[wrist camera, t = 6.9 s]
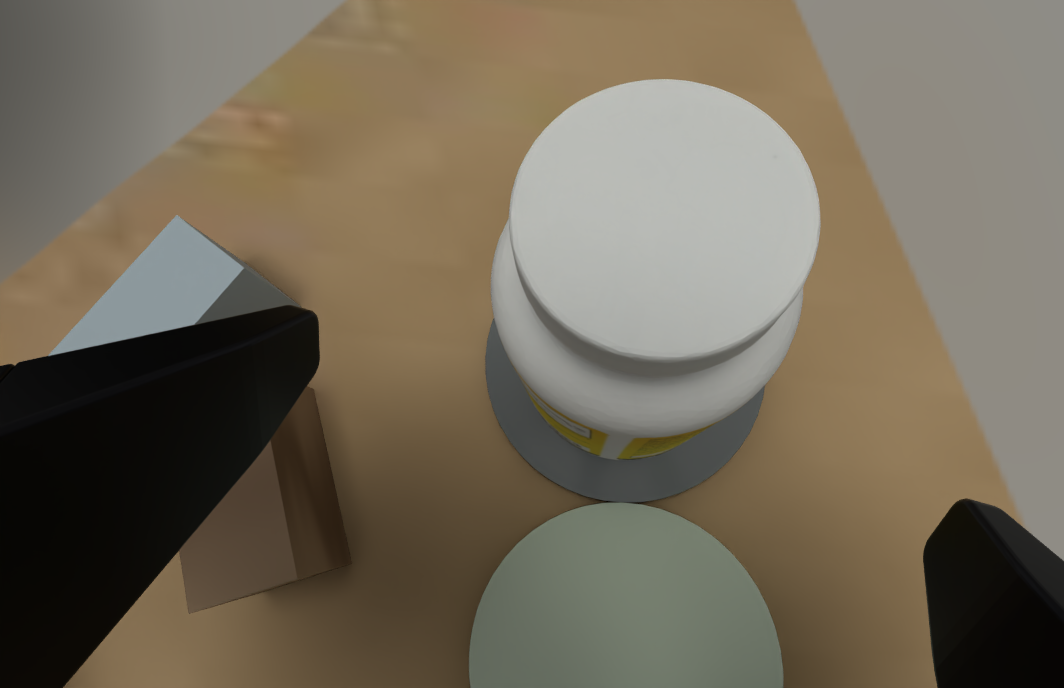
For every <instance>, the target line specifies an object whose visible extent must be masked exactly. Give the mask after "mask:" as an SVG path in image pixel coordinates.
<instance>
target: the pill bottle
mask: <svg viewBox="0 0 1064 688" xmlns="http://www.w3.org/2000/svg"><path fill="white" fill-rule="evenodd" d="M819 235H820V208H819V198H818V194H817V189H816V185H815V182H814V180H813V177H812V174H811V171H810V169H809V167H808V165H807V163H806V161H805V159H804V157H803V155H802V154H801V152H800V150H799V148H798V147H797V146H796V144H795V143H794V142H793V141H792V139H791V138H790V137H789V136H788V134H787V133H786V132H785V131H784V130H783V129H782V128H781V127H780V126H779V125H778V124H777V123H776V122H775V121H774V120H773V119H772V118H771V117H769V116H768V115H767V114H766V113H764V112H763V111H762V110H760V109H759V108H757V107H756V106H755V105H753V104H751V103H749V102H748V101H746V100H744V99H742V98H740V97H738V96H736V95H734V94H732V93H729V92H727V91H724V90H721V89H718V88H716V87H712V86H708V85H704V84H700V83H695V82H691V81H683V80H670V79H655V80H642V81H636V82H630V83H625V84H621V85H617V86H614V87H610V88H607V89H604V90H602V91H600V92H597V93H595V94H593V95H590V96H588V97H586V98H584V99H582V100H580V101H578V102H577V103H575V104H574V105H572V106H571V107H569V108H568V109H566V110H565V111H564V112H563V113H562V114H560V115H559V116H558V117H557V118H556V119H555V120H553V121H552V122H551V123H550V124H549V125H548V126H547V127H546V128H545V129H544V131H543V132H542V133H541V134H540V135H539V137H538V138H537V139H536V140H535V142H534V143H533V145H532V146H531V148H530V150H529V151H528V153H527V154H526V156H525V158H524V160H523V162H522V164H521V166H520V168H519V170H518V173H517V176H516V179H515V182H514V186H513V190H512V194H511V201H510V209H509V219H508V221H507V223H506V225H505V227H504V230H503V232H502V234H501V236H500V239H499V241H498V244H497V247H496V251H495V255H494V260H493V266H492V273H491V301H492V307H493V314H494V319H495V323H496V326H497V330H498V334H499V336H500V339H501V342H502V345H503V347H504V349H505V351H506V354H507V356H508V358H509V360H510V362H511V364H512V366H513V367H514V369H515V371H516V372H517V374H518V376H519V378H520V380H521V381H522V383H523V385H524V387H525V389H526V391H527V393H528V394H529V396H530V398H531V400H532V402H533V404H534V406H535V407H536V409H537V410H538V412H539V414H540V415H541V417H542V418H543V419H544V420H545V421H546V423H547V424H548V425H549V426H550V427H551V429H552V430H554V431H555V432H556V433H557V434H558V435H559V436H560V437H561V438H563V439H564V440H565V441H567V442H568V443H570V444H571V445H573V446H574V447H576V448H578V449H580V450H582V451H584V452H587V453H589V454H592V455H595V456H598V457H602V458H606V459H613V460H638V459H644V458H649V457H653V456H657V455H660V454H662V453H665V452H667V451H670V450H672V449H673V448H675V447H677V446H679V445H681V444H682V443H684V442H686V441H688V440H689V439H690V438H692V437H694V436H696V435H697V434H699V433H700V432H702V431H704V430H705V429H707V428H709V427H710V426H712V425H714V424H715V423H717V422H719V421H721V420H722V419H724V418H726V417H727V416H729V415H730V414H732V413H734V412H735V411H736V410H738V409H739V408H741V407H742V406H743V405H744V404H746V403H747V402H748V401H749V400H750V399H752V398H753V397H754V396H755V395H756V394H757V393H758V392H759V391H760V390H761V389H762V387H763V386H764V385H765V384H766V383H767V382H768V381H769V380H770V378H771V377H772V376H773V375H774V373H775V372H776V370H777V369H778V367H779V366H780V364H781V363H782V361H783V359H784V358H785V356H786V354H787V351H788V349H789V347H790V344H791V342H792V339H793V337H794V334H795V332H796V329H797V326H798V323H799V319H800V314H801V308H802V301H803V286H804V283H805V281H806V279H807V277H808V275H809V272H810V270H811V268H812V265H813V263H814V260H815V256H816V252H817V248H818V242H819Z"/></svg>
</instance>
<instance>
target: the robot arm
mask: <svg viewBox="0 0 1064 688" xmlns="http://www.w3.org/2000/svg"><path fill="white" fill-rule="evenodd" d="M319 360H320V351H319V323H318V318H317V315H316V314H315V313H314V312H313V311H311V310H307V309H304V308H300V307H297V306H293V305H284V306H279V307H275V308H270V309H265V310H261V311H256V312H251V313H247V314H242V315H237V316H233V317H228V318H223V319H218V320H214V321H209V322H204V323H200V324H195V325H190V326H186V327H181V328H176V329H172V330H167V331H162V332H158V333H153V334H148V335H144V336H139V337H134V338H130V339H125V340H120V341H116V342H111V343H106V344H102V345H97V346H92V347H88V348H83V349H78V350H74V351H69V352H64V353H60V354H55V355H50V356H46V357H41V358H36V359H31V360H27V361H22V362H19V363H17V364H16V365H15V366H14V365H13V364H7V365H3V366H0V688H63V687H64V686H65V685H66V683H67V682H68V681H69V680H70V679H71V678H72V676H73V675H74V674H75V673H76V672H77V670H78V669H79V668H80V667H81V666H82V665H83V663H84V662H85V661H86V660H87V659H88V657H89V656H90V655H91V654H92V653H93V652H94V650H95V649H96V648H97V647H98V646H99V644H100V643H101V642H102V641H103V640H104V639H105V637H106V636H107V635H108V634H109V633H110V631H111V630H112V629H113V628H114V627H115V626H116V624H117V623H118V622H119V621H120V620H121V618H122V617H123V616H124V615H125V614H126V613H127V611H128V610H129V609H130V608H131V607H132V605H133V604H134V603H135V602H136V601H137V600H138V598H139V597H140V596H141V595H142V594H143V592H144V591H145V590H146V589H147V588H148V587H149V585H150V584H151V583H152V582H153V581H154V579H155V578H156V577H157V576H158V575H159V573H160V572H161V571H162V570H163V569H164V568H165V566H166V565H167V564H168V563H169V562H170V560H171V559H172V558H173V557H174V556H175V555H176V553H177V552H178V551H179V550H180V549H181V547H182V546H183V545H184V544H185V543H186V542H187V540H188V539H189V538H190V537H191V536H192V534H193V533H194V532H195V531H196V530H197V529H198V527H199V526H200V525H201V524H202V523H203V521H204V520H205V519H206V518H207V517H208V516H209V514H210V513H211V512H212V511H213V510H214V508H215V507H216V506H217V505H218V504H219V503H220V501H221V500H222V499H223V498H224V497H225V495H226V494H227V493H228V492H229V491H230V490H231V488H232V487H233V486H234V485H235V484H236V482H237V481H238V480H239V479H240V478H241V477H242V475H243V474H244V473H245V472H246V471H247V469H248V468H249V467H250V466H251V465H252V463H253V462H254V461H255V460H256V459H257V457H258V456H259V455H260V454H261V452H262V451H263V450H264V448H265V447H266V446H267V444H268V443H269V441H270V440H271V439H272V437H273V436H274V434H275V433H276V431H277V430H278V428H279V427H280V425H281V424H282V422H283V421H284V419H285V418H286V416H287V415H288V413H289V412H290V410H291V409H292V407H293V406H294V404H295V403H296V401H297V400H298V399H299V397H300V396H301V394H302V393H303V391H304V390H305V388H306V387H307V385H308V384H309V382H310V381H311V379H312V378H313V376H314V375H315V373H316V371H317V368H318V365H319ZM923 563H924V573H925V584H926V594H927V605H928V615H929V626H930V636H931V647H932V656H933V663H934V671H935V676H936V681H937V687H938V688H1064V561H1063V560H1062V559H1060V558H1059V557H1058V556H1057V555H1056V554H1055V553H1053V552H1052V551H1051V550H1050V549H1049V548H1047V547H1046V546H1045V545H1044V544H1043V543H1041V542H1040V541H1039V540H1038V539H1036V538H1035V537H1034V536H1033V535H1032V534H1031V533H1029V532H1028V531H1027V530H1026V529H1025V528H1023V527H1022V526H1021V525H1020V524H1019V523H1017V522H1016V521H1015V520H1014V519H1013V518H1011V517H1010V516H1009V515H1008V514H1007V513H1005V512H1004V511H1003V510H1001V509H1000V508H998V507H995V506H992V505H988V504H985V503H981V502H978V501H974V500H971V499H961V500H959V501H957V502H956V503H955V504H954V505H953V506H952V507H951V508H950V510H949V511H948V513H947V514H946V515H945V517H944V518H943V519H942V521H941V522H940V523H939V525H938V526H937V528H936V529H935V530H934V532H933V533H932V534H931V536H930V537H929V539H928V540H927V542H926V545H925V548H924V553H923Z"/></svg>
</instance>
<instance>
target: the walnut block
mask: <svg viewBox="0 0 1064 688" xmlns="http://www.w3.org/2000/svg"><path fill="white" fill-rule="evenodd" d="M179 552H180V559H181V565H182V572H183V579H184V585H185V592H186V599H187V606H188V612H189V614H190V613H193V612H197V611H200V610H204V609H207V608H211V607H214V606H217V605H221V604H224V603H228V602H231V601H234V600H238V599H241V598H245V597H248V596H251V595H255V594H258V593H262V592H265V591H268V590H271V589H274V588H277V587H280V586H284V585H287V584H290V583H293V582H296V581H299V580H302V579H305V578H308V577H312V576H315V575H318V574H321V573H324V572H327V571H330V570H333V569H336V568H339V567H343V566H346V565H349V564H352V562H351V558H350V553H349V549H348V544H347V540H346V535H345V530H344V526H343V521H342V517H341V512H340V508H339V503H338V499H337V494H336V489H335V485H334V480H333V476H332V471H331V467H330V462H329V458H328V453H327V448H326V444H325V439H324V435H323V430H322V426H321V421H320V417H319V412H318V407H317V403H316V398H315V394H314V389H312V388H309V387H306V388H305V390H304V391H303V393H302V394H301V396H300V397H299V399H298V400H297V401H296V403H295V404H294V406H293V407H292V409H291V410H290V412H289V413H288V415H287V416H286V418H285V419H284V421H283V422H282V424H281V425H280V427H279V428H278V430H277V431H276V433H275V434H274V436H273V437H272V439H271V440H270V441H269V443H268V444H267V446H266V447H265V448H264V450H263V451H262V452H261V454H260V455H259V456H258V457H257V459H256V460H255V461H254V462H253V463H252V465H251V466H250V467H249V468H248V469H247V471H246V472H245V473H244V474H243V475H242V477H241V478H240V479H239V480H238V481H237V482H236V484H235V485H234V486H233V487H232V488H231V490H230V491H229V492H228V493H227V494H226V495H225V497H224V498H223V499H222V500H221V501H220V503H219V504H218V505H217V506H216V507H215V508H214V510H213V511H212V512H211V513H210V514H209V516H208V517H207V518H206V519H205V520H204V521H203V523H202V524H201V525H200V526H199V527H198V529H197V530H196V531H195V532H194V533H193V534H192V536H191V537H190V538H189V539H188V540H187V542H186V543H185V544H184V545H183V546H182V547H181V549H180V550H179Z"/></svg>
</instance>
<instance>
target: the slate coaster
mask: <svg viewBox="0 0 1064 688" xmlns="http://www.w3.org/2000/svg"><path fill="white" fill-rule="evenodd" d="M485 359H486V380H487V387H488V393H489V396H490V400H491V403H492V407H493V410H494V412H495V414H496V417H497V419H498V421H499V424H500V426H501V428H502V429H503V431H504V433H505V434H506V436H507V437H508V439H509V441H510V442H511V443H512V445H513V446H514V447H515V448H516V450H517V451H518V452H519V453H520V455H521V456H522V457H523V458H524V459H525V460H526V461H527V462H528V463H529V464H530V465H532V466H533V467H534V468H535V469H536V470H537V471H539V472H540V473H541V474H543V475H544V476H546V477H547V478H548V479H550V480H551V481H553V482H555V483H557V484H559V485H560V486H562V487H564V488H566V489H568V490H570V491H573V492H576V493H578V494H581V495H583V496H587V497H591V498H595V499H599V500H603V501H613V502H623V503H624V502H645V501H651V500H657V499H662V498H666V497H669V496H672V495H675V494H678V493H681V492H683V491H685V490H687V489H690V488H692V487H694V486H696V485H698V484H699V483H701V482H702V481H704V480H706V479H707V478H709V477H710V476H712V475H713V474H714V473H716V472H717V471H718V470H719V469H720V468H721V467H722V466H724V465H725V464H726V463H727V462H728V461H729V460H730V459H731V457H732V456H733V455H734V454H735V453H736V452H737V451H738V449H739V448H740V447H741V445H742V444H743V442H744V441H745V439H746V437H747V436H748V434H749V433H750V431H751V429H752V427H753V424H754V422H755V420H756V418H757V416H758V413H759V409H760V406H761V403H762V399H763V394H764V387H765V385H764V386H763V387H762V389H761V390H760V391H759V392H758V393H757V394H756V395H755V396H754V397H753V398H752V399H750V400H749V401H748V402H747V403H746V404H744V405H743V406H742V407H741V408H739V409H738V410H736V411H735V412H734V413H732V414H730V415H729V416H727V417H726V418H724V419H722V420H721V421H719V422H717V423H715V424H714V425H712V426H710V427H709V428H707V429H705V430H704V431H702V432H700V433H699V434H697V435H696V436H694V437H692V438H690V439H689V440H688V441H686V442H684V443H682V444H681V445H679V446H677V447H675V448H673V449H672V450H670V451H667V452H665V453H662V454H660V455H657V456H653V457H649V458H644V459H638V460H613V459H606V458H602V457H598V456H595V455H592V454H589V453H587V452H584V451H582V450H580V449H578V448H576V447H574V446H573V445H571V444H570V443H568V442H567V441H565V440H564V439H563V438H561V437H560V436H559V435H558V434H557V433H556V432H555V431H554V430H552V429H551V427H550V426H549V425H548V424H547V423H546V421H545V420H544V419H543V418H542V417H541V415H540V414H539V412H538V410H537V409H536V407H535V406H534V404H533V402H532V400H531V398H530V396H529V394H528V393H527V391H526V389H525V387H524V385H523V383H522V381H521V380H520V378H519V376H518V374H517V372H516V371H515V369H514V367H513V366H512V364H511V362H510V360H509V358H508V356H507V354H506V351H505V349H504V347H503V345H502V342H501V339H500V336H499V334H498V330H497V326H496V323H495V319H493V321H492V324H491V328H490V332H489V336H488V340H487V348H486V357H485Z"/></svg>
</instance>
